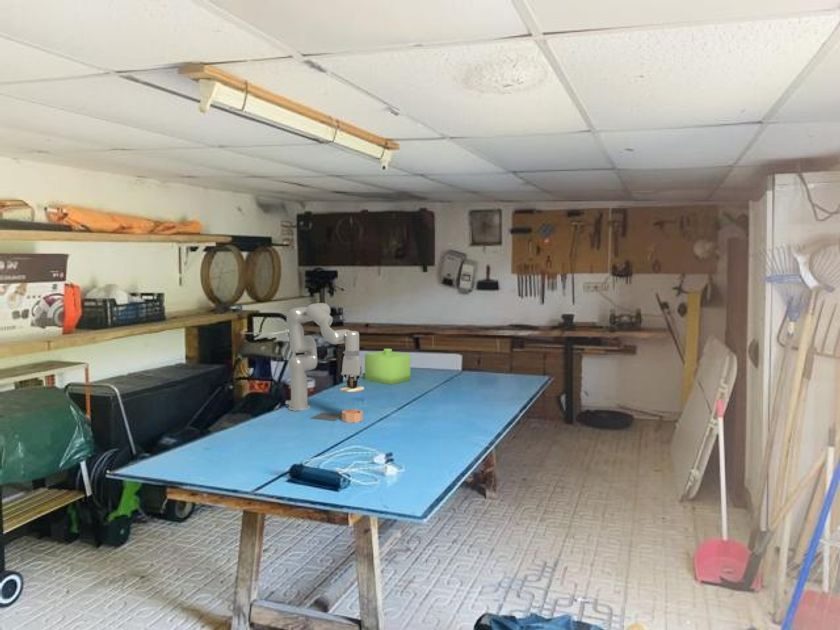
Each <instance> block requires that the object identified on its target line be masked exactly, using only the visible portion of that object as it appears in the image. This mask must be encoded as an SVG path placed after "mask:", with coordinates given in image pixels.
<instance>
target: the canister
mask: <svg viewBox="0 0 840 630" xmlns="http://www.w3.org/2000/svg"><path fill="white" fill-rule="evenodd" d="M411 357H412V356H411V354H410V353H405V352H404V353H402V352H396V351H393V349H392V348H384V349H383V351H382V350H381V351H375V352H370V353H365V354H364V381H366V382H374V383H378V384H384V385H390V386H392V385H397V384H400V383H405V382H409V381H411Z"/></svg>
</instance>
